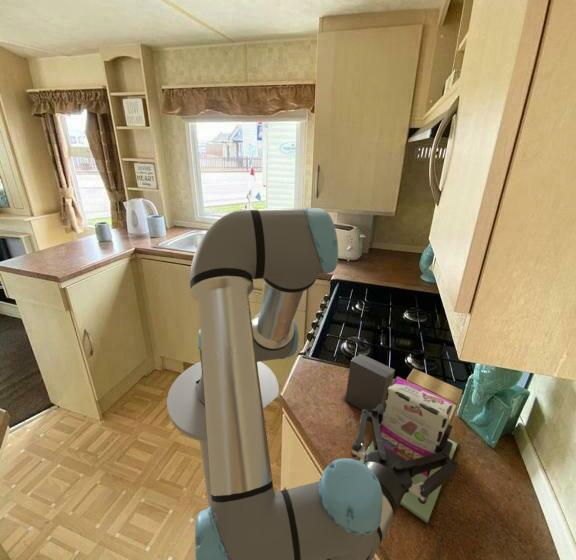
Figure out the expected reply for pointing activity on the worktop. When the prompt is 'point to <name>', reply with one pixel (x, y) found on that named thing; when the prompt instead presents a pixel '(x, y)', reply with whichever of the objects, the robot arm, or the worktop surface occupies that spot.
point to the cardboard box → (436, 389)
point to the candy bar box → (413, 420)
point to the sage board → (412, 500)
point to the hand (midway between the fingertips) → (419, 414)
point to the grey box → (368, 382)
